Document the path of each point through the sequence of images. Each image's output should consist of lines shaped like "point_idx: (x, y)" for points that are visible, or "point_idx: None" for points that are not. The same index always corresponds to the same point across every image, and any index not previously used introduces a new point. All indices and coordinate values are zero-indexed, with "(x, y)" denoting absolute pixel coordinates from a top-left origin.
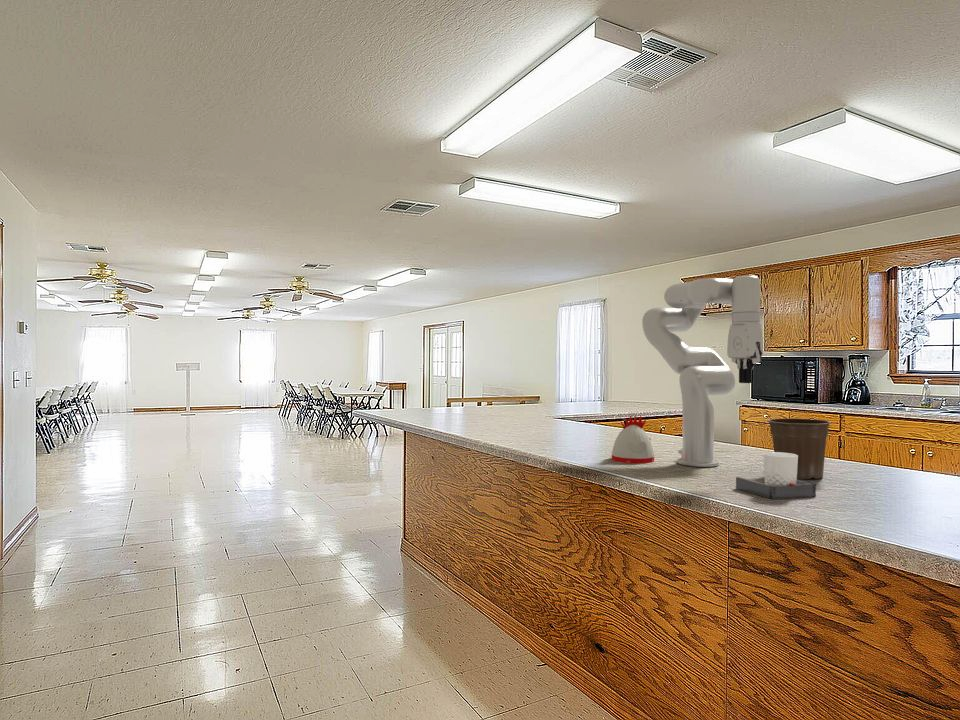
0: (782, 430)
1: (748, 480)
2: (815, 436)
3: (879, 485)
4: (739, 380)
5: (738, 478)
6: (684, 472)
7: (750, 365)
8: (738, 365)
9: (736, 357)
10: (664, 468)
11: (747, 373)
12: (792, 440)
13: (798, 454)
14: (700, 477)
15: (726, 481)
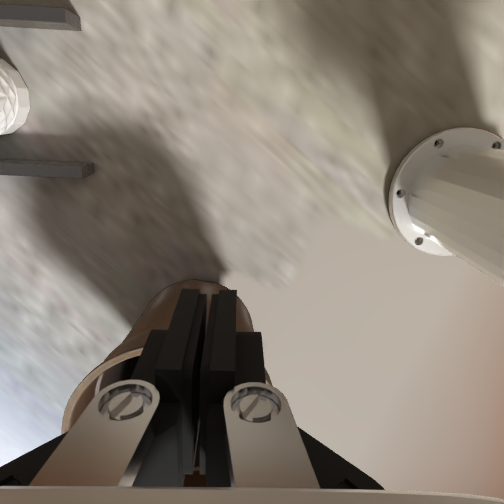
0: None
1: (1, 4)
2: (91, 394)
3: (57, 402)
4: (228, 296)
5: (53, 8)
6: (355, 43)
7: (41, 462)
8: (265, 423)
9: (207, 487)
10: (443, 22)
11: (135, 374)
12: (136, 334)
13: (137, 323)
14: (265, 35)
15: (185, 74)
